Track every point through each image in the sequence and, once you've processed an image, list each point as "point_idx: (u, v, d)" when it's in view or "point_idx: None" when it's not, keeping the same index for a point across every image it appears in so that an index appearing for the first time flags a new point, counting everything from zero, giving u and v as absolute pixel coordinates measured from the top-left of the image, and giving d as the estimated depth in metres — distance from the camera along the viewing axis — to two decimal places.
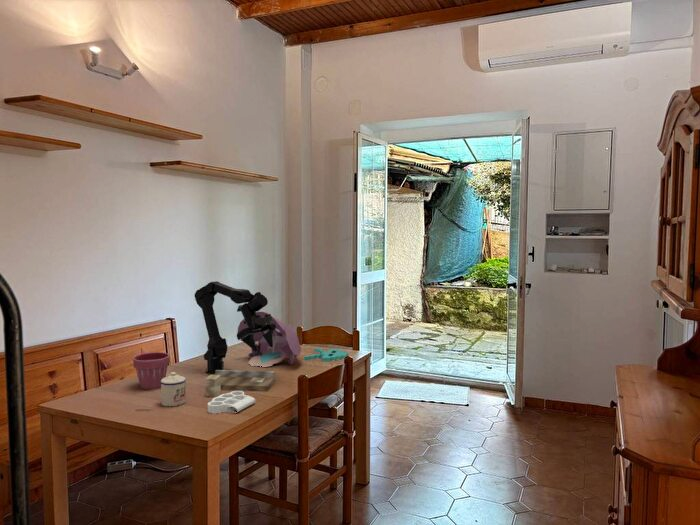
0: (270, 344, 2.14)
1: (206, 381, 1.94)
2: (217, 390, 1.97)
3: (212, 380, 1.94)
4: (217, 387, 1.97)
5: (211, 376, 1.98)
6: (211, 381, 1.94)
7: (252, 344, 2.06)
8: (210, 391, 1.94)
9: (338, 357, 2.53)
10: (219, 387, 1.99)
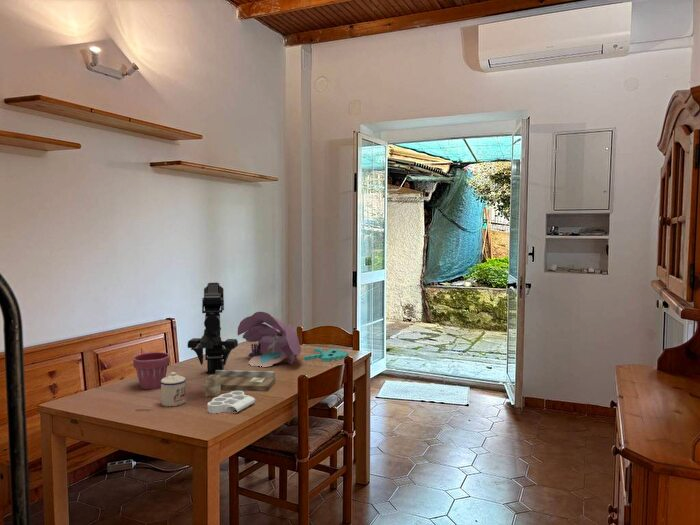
0: None
1: (206, 381, 1.94)
2: (217, 390, 1.97)
3: (212, 380, 1.94)
4: (217, 387, 1.97)
5: (211, 376, 1.98)
6: (211, 381, 1.94)
7: None
8: (210, 391, 1.94)
9: (338, 357, 2.53)
10: (219, 387, 1.99)
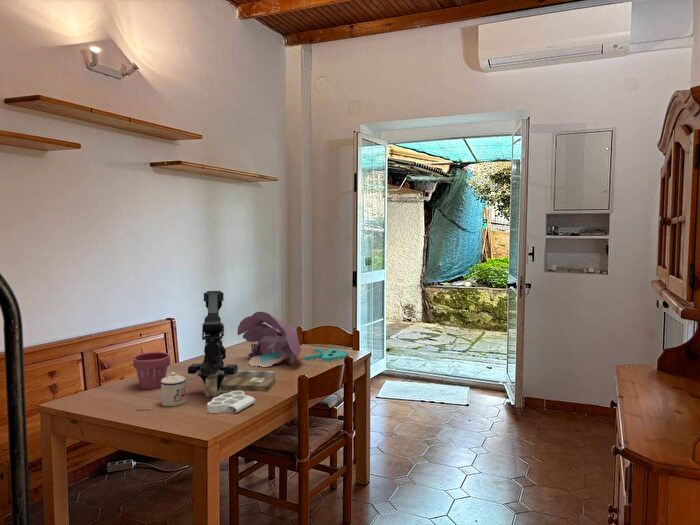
0: None
1: (206, 381, 1.94)
2: (217, 390, 1.97)
3: (212, 380, 1.94)
4: None
5: (211, 376, 1.98)
6: (211, 380, 1.94)
7: None
8: (210, 390, 1.94)
9: (338, 357, 2.53)
10: None
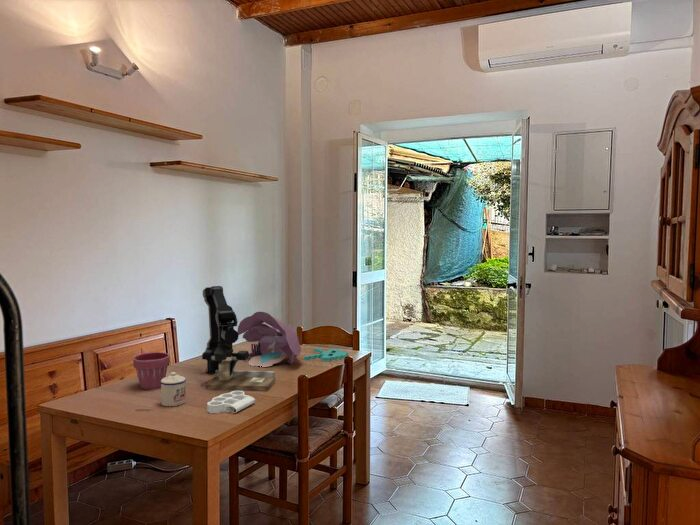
0: None
1: (219, 366, 2.07)
2: (230, 375, 2.10)
3: (225, 365, 2.07)
4: None
5: (224, 361, 2.11)
6: (224, 365, 2.07)
7: None
8: (223, 375, 2.08)
9: (338, 357, 2.53)
10: None
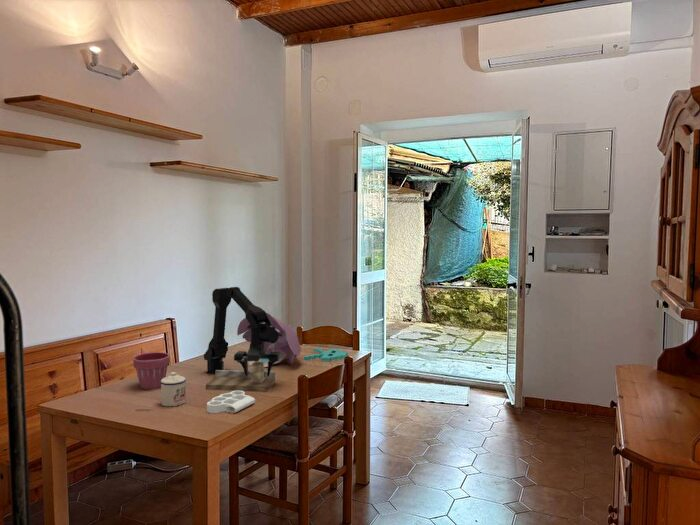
0: None
1: (251, 367, 2.07)
2: (262, 376, 2.09)
3: (257, 366, 2.06)
4: (261, 373, 2.09)
5: (255, 363, 2.10)
6: (256, 367, 2.06)
7: None
8: (255, 376, 2.07)
9: (338, 357, 2.53)
10: (263, 373, 2.12)
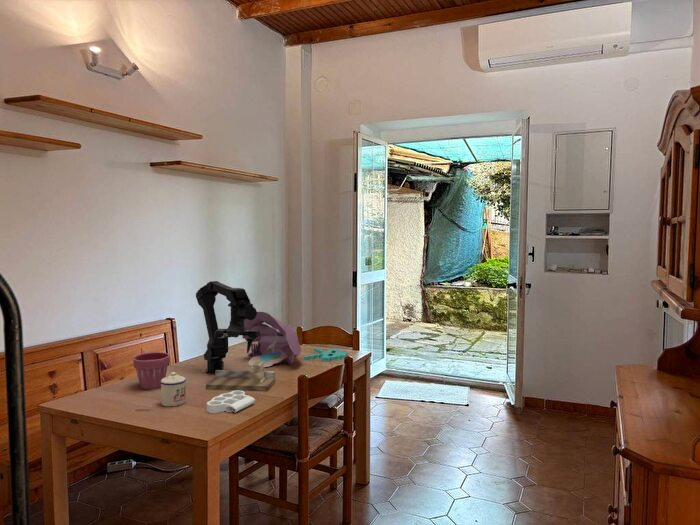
0: None
1: (251, 367, 2.07)
2: (262, 376, 2.09)
3: (257, 366, 2.06)
4: (261, 373, 2.09)
5: (255, 363, 2.10)
6: (256, 367, 2.06)
7: None
8: (255, 376, 2.07)
9: (338, 357, 2.53)
10: (263, 373, 2.12)
